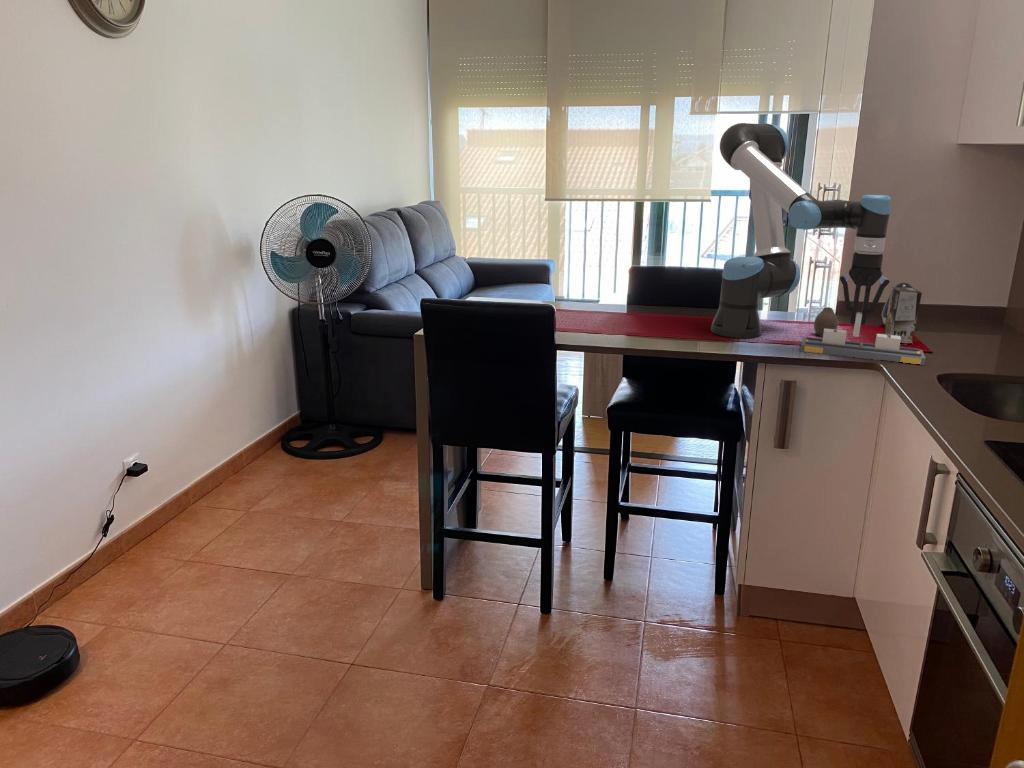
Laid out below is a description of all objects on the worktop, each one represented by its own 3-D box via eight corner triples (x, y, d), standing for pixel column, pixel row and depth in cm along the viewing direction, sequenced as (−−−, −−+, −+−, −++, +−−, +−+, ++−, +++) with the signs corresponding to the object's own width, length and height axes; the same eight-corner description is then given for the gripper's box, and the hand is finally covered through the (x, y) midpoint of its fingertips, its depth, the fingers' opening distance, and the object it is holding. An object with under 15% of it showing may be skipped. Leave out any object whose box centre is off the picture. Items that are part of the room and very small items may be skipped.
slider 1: (821, 344, 217) (824, 330, 216) (822, 341, 221) (824, 327, 219) (844, 347, 215) (846, 332, 214) (844, 343, 218) (846, 329, 217)
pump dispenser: (915, 327, 251) (923, 281, 246) (912, 333, 242) (920, 286, 238) (882, 322, 256) (889, 278, 251) (877, 328, 248) (885, 282, 243)
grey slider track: (800, 351, 217) (801, 342, 216) (801, 343, 226) (803, 335, 225) (924, 365, 205) (926, 356, 204) (920, 356, 214) (922, 347, 213)
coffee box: (912, 345, 227) (922, 292, 222) (890, 343, 228) (899, 291, 223) (904, 338, 236) (913, 287, 231) (882, 336, 237) (891, 285, 232)
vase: (839, 335, 237) (843, 308, 234) (831, 339, 232) (835, 311, 230) (817, 331, 242) (821, 304, 239) (809, 335, 237) (812, 307, 234)
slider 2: (875, 350, 212) (877, 335, 211) (874, 347, 215) (877, 332, 214) (898, 353, 210) (901, 338, 208) (897, 349, 213) (900, 335, 212)
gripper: (842, 252, 207) (831, 336, 214) (895, 255, 202) (881, 340, 209) (842, 249, 213) (831, 330, 220) (893, 252, 209) (880, 335, 215)
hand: (855, 335), depth 215 cm, fingers closed
